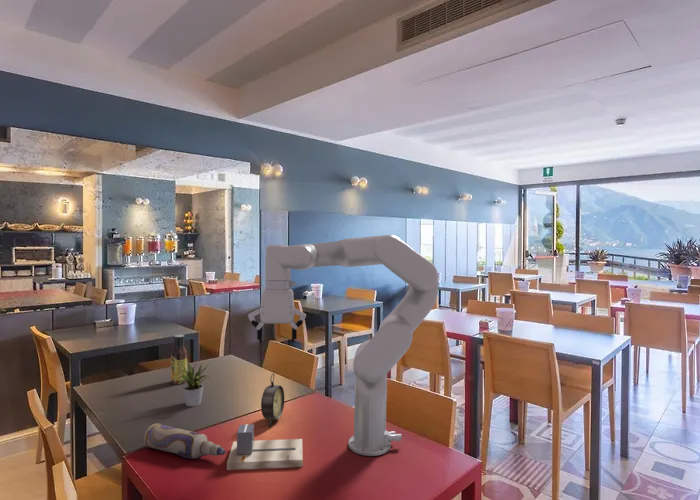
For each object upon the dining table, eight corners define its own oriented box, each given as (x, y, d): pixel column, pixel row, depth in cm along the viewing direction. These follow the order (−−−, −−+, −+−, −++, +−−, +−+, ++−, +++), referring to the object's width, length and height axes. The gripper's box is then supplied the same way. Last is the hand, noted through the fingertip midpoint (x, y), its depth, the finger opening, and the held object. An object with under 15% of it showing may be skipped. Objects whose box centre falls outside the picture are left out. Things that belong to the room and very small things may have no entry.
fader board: (302, 445, 130) (302, 438, 130) (302, 466, 118) (302, 459, 118) (233, 448, 128) (233, 441, 128) (226, 470, 116) (226, 462, 116)
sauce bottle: (171, 380, 185) (171, 333, 184) (187, 379, 187) (187, 333, 186) (170, 385, 179) (170, 337, 178) (186, 384, 180) (186, 336, 180)
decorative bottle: (140, 451, 125) (141, 428, 125) (160, 440, 132) (161, 418, 132) (214, 470, 116) (215, 445, 115) (232, 457, 123) (232, 434, 123)
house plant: (160, 408, 155) (160, 363, 154) (183, 395, 168) (183, 353, 168) (195, 413, 152) (195, 367, 151) (216, 399, 165) (217, 356, 164)
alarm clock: (273, 428, 141) (274, 379, 140) (257, 427, 142) (258, 377, 141) (285, 415, 151) (285, 369, 151) (270, 413, 153) (271, 367, 152)
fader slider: (253, 444, 125) (253, 424, 125) (251, 453, 120) (252, 431, 120) (239, 445, 124) (239, 424, 124) (236, 454, 119) (237, 432, 119)
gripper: (306, 284, 136) (305, 338, 137) (249, 284, 134) (249, 339, 135) (306, 287, 129) (305, 344, 129) (247, 286, 127) (246, 345, 127)
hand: (277, 341), depth 132 cm, fingers open, 9 cm apart
